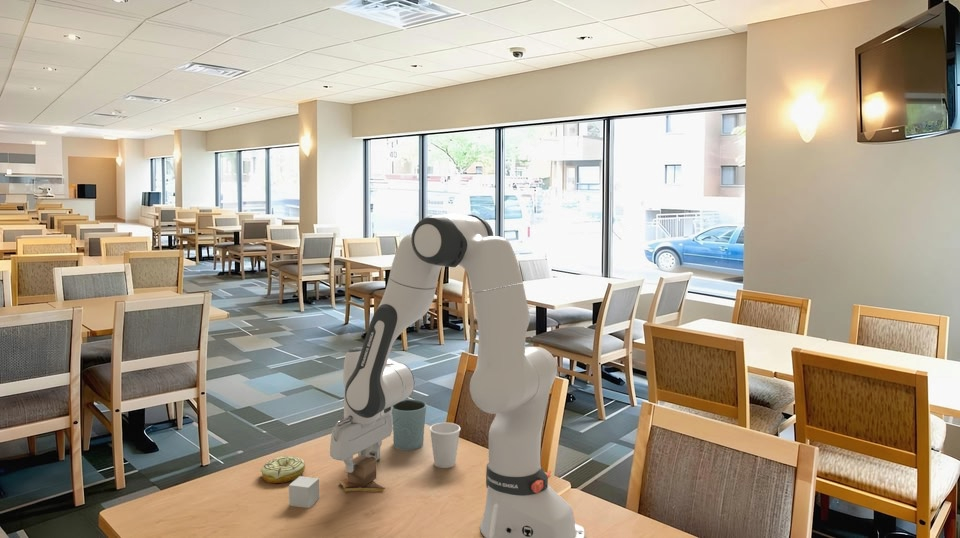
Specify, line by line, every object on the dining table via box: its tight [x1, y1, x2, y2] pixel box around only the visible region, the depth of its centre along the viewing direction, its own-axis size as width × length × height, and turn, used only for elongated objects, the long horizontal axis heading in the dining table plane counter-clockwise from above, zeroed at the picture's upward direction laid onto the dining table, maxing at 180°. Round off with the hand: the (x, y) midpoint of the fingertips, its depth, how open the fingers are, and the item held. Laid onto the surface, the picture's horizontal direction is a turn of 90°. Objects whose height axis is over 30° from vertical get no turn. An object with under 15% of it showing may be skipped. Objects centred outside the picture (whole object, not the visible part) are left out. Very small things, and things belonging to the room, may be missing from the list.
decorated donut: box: [260, 455, 306, 484], centre depth 164 cm, size 10×11×4 cm
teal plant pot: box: [391, 398, 427, 451], centre depth 185 cm, size 10×10×12 cm
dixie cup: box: [429, 422, 462, 469], centre depth 172 cm, size 8×8×10 cm
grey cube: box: [288, 475, 320, 509], centre depth 150 cm, size 5×5×5 cm
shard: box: [338, 477, 386, 492], centre depth 157 cm, size 11×8×2 cm
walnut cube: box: [347, 455, 377, 486], centre depth 159 cm, size 5×5×5 cm
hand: (362, 464), depth 159 cm, fingers open, 8 cm apart
